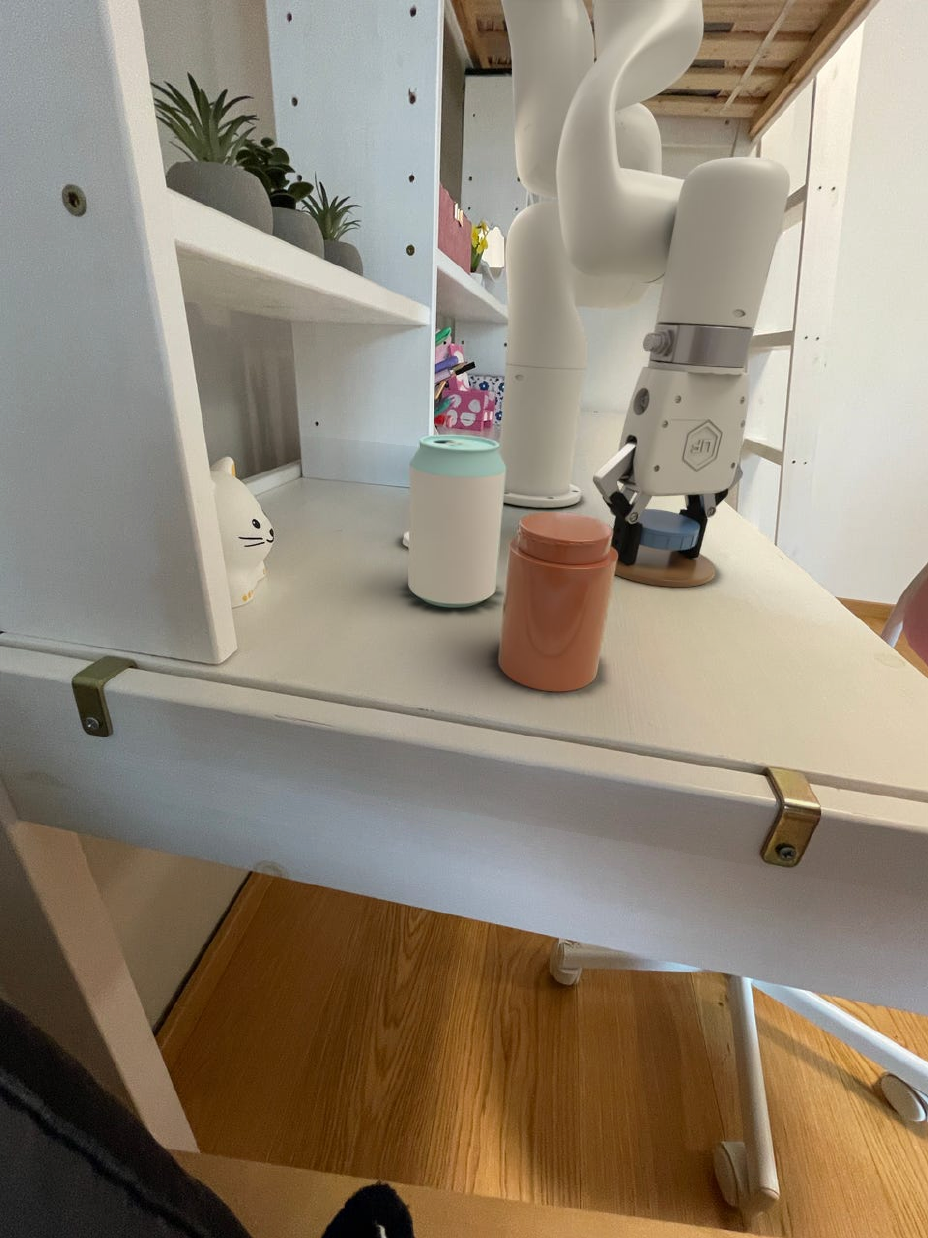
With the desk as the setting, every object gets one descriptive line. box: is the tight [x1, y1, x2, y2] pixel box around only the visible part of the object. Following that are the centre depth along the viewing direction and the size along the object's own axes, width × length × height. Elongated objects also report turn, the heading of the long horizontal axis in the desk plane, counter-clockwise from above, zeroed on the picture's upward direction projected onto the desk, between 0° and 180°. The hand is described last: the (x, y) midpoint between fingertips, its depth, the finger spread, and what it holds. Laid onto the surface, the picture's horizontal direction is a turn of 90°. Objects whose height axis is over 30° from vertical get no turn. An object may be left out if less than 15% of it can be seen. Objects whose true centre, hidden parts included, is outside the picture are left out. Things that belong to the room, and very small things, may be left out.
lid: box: [637, 508, 700, 550], centre depth 55 cm, size 7×7×2 cm
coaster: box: [615, 545, 717, 588], centre depth 56 cm, size 11×11×1 cm
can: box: [407, 434, 506, 608], centre depth 45 cm, size 7×7×12 cm
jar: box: [497, 511, 618, 692], centre depth 36 cm, size 6×6×9 cm
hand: (653, 555), depth 56 cm, fingers closed on lid, 6 cm apart
